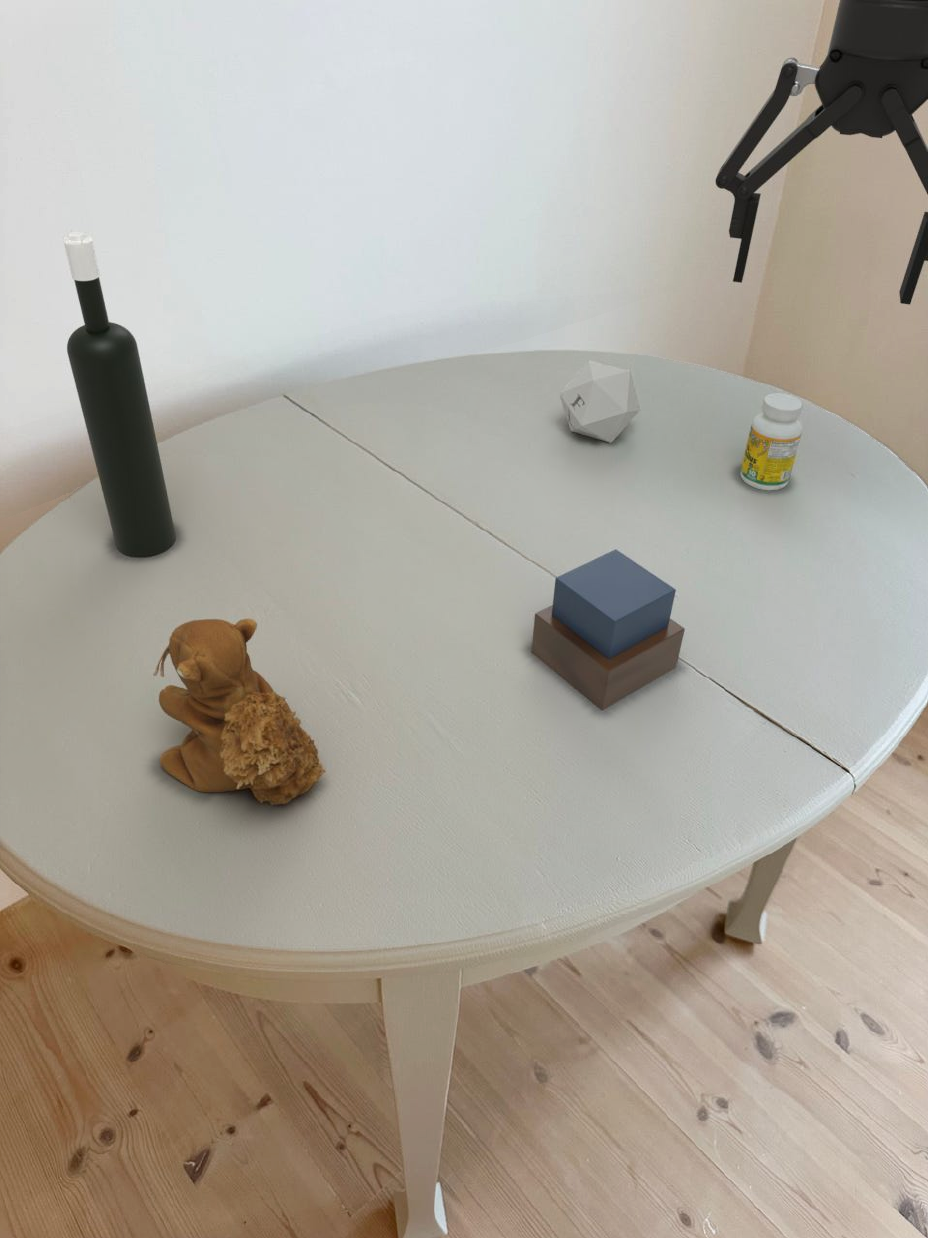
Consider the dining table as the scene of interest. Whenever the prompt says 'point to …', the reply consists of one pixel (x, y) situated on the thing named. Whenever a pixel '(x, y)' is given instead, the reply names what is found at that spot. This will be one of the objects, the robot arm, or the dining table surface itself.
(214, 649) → the stuffed squirrel
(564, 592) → the top block
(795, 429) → the supplement bottle
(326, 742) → the dining table surface
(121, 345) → the wine bottle
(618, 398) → the die
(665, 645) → the base block
